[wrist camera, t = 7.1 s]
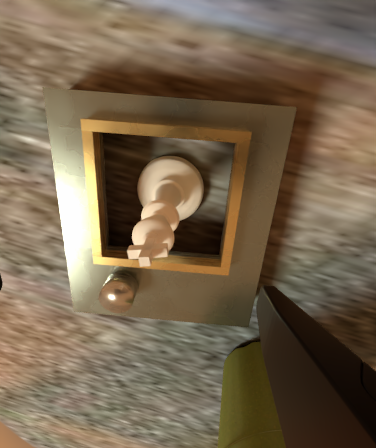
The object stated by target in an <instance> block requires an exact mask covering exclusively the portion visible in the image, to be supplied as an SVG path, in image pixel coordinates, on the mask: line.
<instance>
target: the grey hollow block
mask: <svg viewBox="0 0 376 448" xmlns="http://www.w3.org/2000/svg"><path fill="white" fill-rule="evenodd" d="M43 94H44V102H45V109H46V116H47V123H48V130H49V137H50V145H51V152H52V159H53V166H54V173H55V181H56V188H57V195H58V202H59V209H60V216H61V224H62V231H63V238H64V245H65V252H66V259H67V267H68V274H69V281H70V288H71V295H72V302H73V310H74V312H84V313H95V314H107V315H118V316H129V317H140V318H151V319H162V320H173V321H184V322H195V323H207V324H218V325H229V326H240V327H249V322H250V318H251V313H252V309H253V304H254V300H255V295H256V291H257V286H258V281H259V277H260V272H261V268H262V263H263V259H264V254H265V250H266V245H267V241H268V236H269V232H270V227H271V223H272V218H273V214H274V209H275V205H276V200H277V196H278V191H279V186H280V182H281V177H282V173H283V168H284V164H285V159H286V155H287V150H288V146H289V141H290V137H291V132H292V128H293V123H294V119H295V114H296V110H297V107H289V106H276V105H263V104H250V103H238V102H225V101H212V100H199V99H186V98H173V97H160V96H147V95H135V94H122V93H109V92H96V91H83V90H70V89H57V88H44V87H43ZM103 132H106V133H118V134H131V135H143V136H156V137H168V138H181V139H193V140H206V141H218V142H231V143H235V145H234V153H233V160H232V167H231V174H230V181H229V189H228V196H227V203H226V210H225V217H224V225H223V232H222V239H221V246H220V253H219V255H213V254H201V253H190V252H178V251H169V253H168V257H159V258H153V260H152V263H151V266H143V267H140V264H139V259H129V258H128V253H127V249H128V247H120V246H109V230H108V213H107V197H106V180H105V163H104V146H103Z"/></svg>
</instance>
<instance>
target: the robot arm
mask: <svg viewBox="0 0 376 448" xmlns="http://www.w3.org/2000/svg"><path fill="white" fill-rule="evenodd" d="M1 288H2V279H1V275H0V290H1ZM256 309H257V318H258V326H259V333H260V340H261V348H262V354H263V359H264V363H265V367H266V371H267V375H268V379H269V383H270V387H271V391H272V395H273V399H274V403H275V407H276V411H277V415H278V418H279V422H280V426H281V430H282V434H283V438H284V442H285V446H286V448H376V371H375V370H374V369H372V368H371V367H370V366H369V365H368V364H366V363H365V362H362V360H361V359H360V358H359V357H358V356H357V355H356V354H354V353H353V352H352V351H351V350H350V349H348V348H347V347H346V346H345V345H344V344H342V343H341V342H340V341H339V340H338V339H337V338H335V337H334V336H333V335H332V334H331V333H329V332H328V331H327V330H326V329H325V328H323V327H322V326H321V325H320V324H319V323H318V322H316V321H315V320H314V319H313V318H312V317H310V316H309V315H308V314H307V313H306V312H304V311H303V310H302V309H301V308H300V307H298V306H297V305H296V304H295V303H294V302H293V301H291V300H290V299H289V298H288V297H287V296H285V295H284V294H283V293H282V292H281V291H279V290H278V289H277V288H276V287H274V286H267V285H263V286H261V288H260V292H259V297H258V301H257V308H256Z"/></svg>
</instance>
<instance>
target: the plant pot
mask: <svg viewBox="0 0 376 448" xmlns="http://www.w3.org/2000/svg"><path fill="white" fill-rule="evenodd" d="M218 448H286V446H285V442H284V438H283V434H282V430H281V426H280V422H279V418H278V415H277V411H276V407H275V403H274V399H273V395H272V391H271V387H270V383H269V379H268V375H267V371H266V367H265V363H264V359H263V354H262V348H261V342H253V343H251V344H249V345H248V346H246V347H242V348H236V349H235V350H234V351H233V352H231V353H230V355H229V356H228V357H227V358H226V360H225V363H224V370H223V384H222V398H221V411H220V424H219V438H218Z"/></svg>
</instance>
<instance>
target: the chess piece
mask: <svg viewBox="0 0 376 448" xmlns="http://www.w3.org/2000/svg"><path fill="white" fill-rule="evenodd" d="M137 192H138V197H139V200H140V202H141V204H142V206H143V207H144V208H143V210H142V213H141V221H139V222H138V223H137V224H136V225H135V227H134V229H133V232H132V240H133V243H134V245H129V247H128V249H127V253H128V258H129V259H139V264H140V267H143V266H151V263H152V260H153V258H159V257H168V253H169V250H170V249H171V248H172V246H173V244H174V232H173V231H174V230H175V229H176V228H177V226H178V224H179V221H180V220H183V219H186V218H188V217H189V216H191V215H192V214H193V213H194V212H195V211H196V210H197V209H198V207H199V205H200V203H201V201H202V198H203V194H204V184H203V180H202V177H201V175H200V173H199V171H198V170H197V168H196V167H195V166H194V165H193V164H192V163H190V162H189V161H187V160H185V159H183V158H181V157H177V156H162V157H159V158H156V159H154V160H152V161H151V162H150V163H148V164H147V165H146V166H145V168H144V169H143V170H142V172H141V174H140V177H139V180H138V186H137Z"/></svg>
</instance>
